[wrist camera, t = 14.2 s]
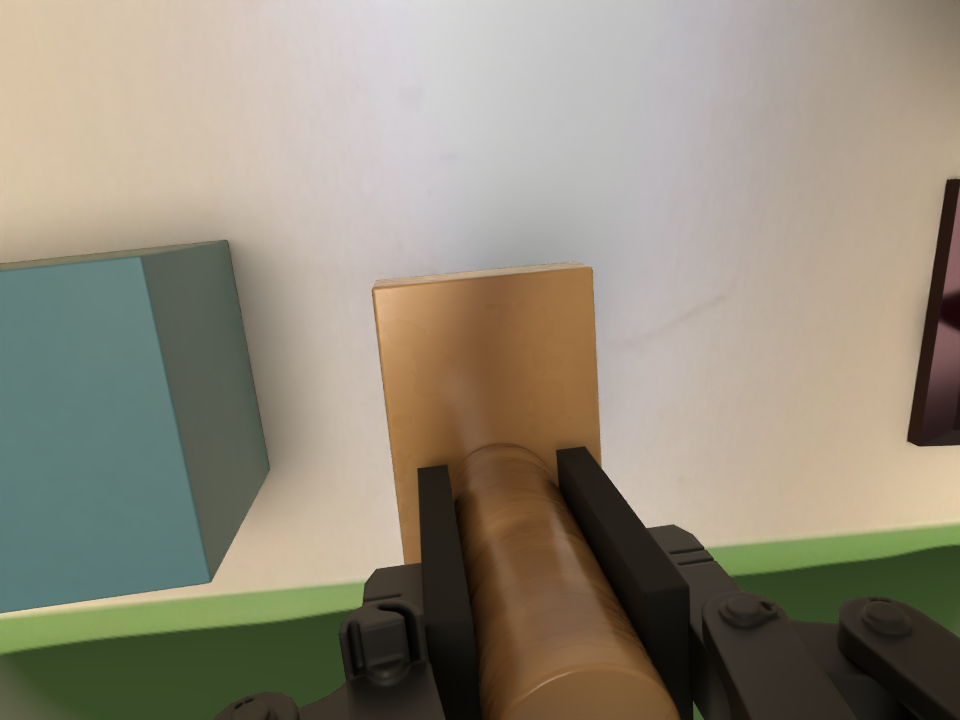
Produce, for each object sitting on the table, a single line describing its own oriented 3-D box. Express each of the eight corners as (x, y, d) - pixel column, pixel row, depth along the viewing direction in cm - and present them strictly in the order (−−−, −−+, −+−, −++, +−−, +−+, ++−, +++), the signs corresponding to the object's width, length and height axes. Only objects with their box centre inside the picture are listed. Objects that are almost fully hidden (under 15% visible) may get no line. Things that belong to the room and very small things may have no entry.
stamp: (564, 257, 20) (787, 327, 8) (582, 600, 23) (772, 1025, 11) (376, 274, 20) (331, 375, 8) (418, 623, 22) (430, 1092, 11)
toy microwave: (227, 239, 33) (141, 255, 22) (274, 491, 36) (217, 612, 25) (-170, 281, 31) (-467, 319, 21) (-86, 540, 34) (-308, 690, 24)
